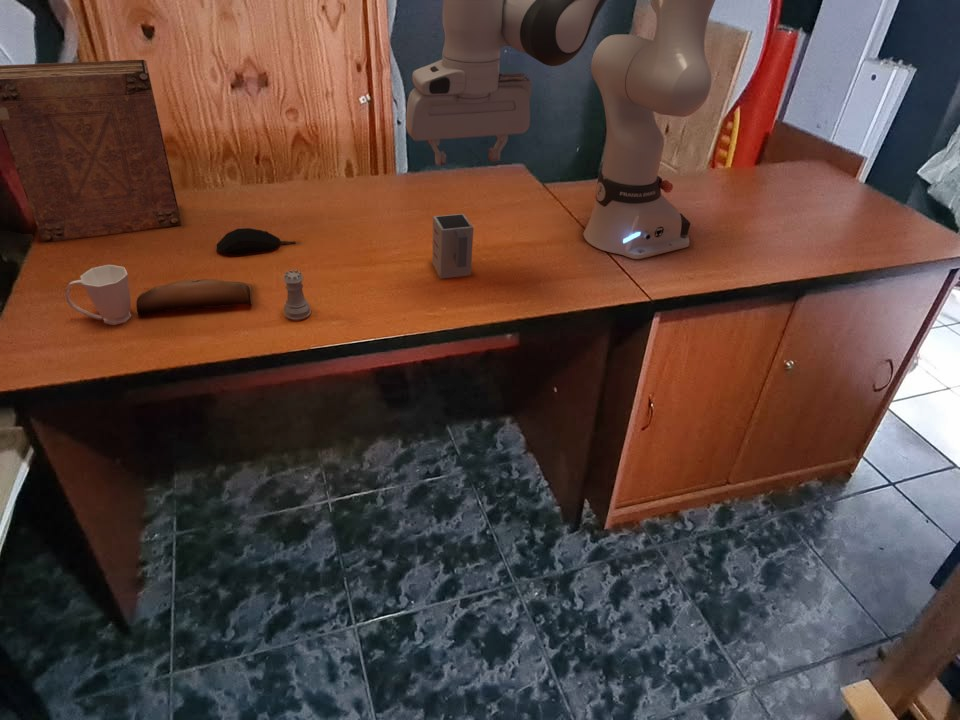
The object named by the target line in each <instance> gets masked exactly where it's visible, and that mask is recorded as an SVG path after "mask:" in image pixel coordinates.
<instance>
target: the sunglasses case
mask: <svg viewBox="0 0 960 720" xmlns="http://www.w3.org/2000/svg"><path fill="white" fill-rule="evenodd" d="M136 298H137V299H136V311H137V312H136V313H137V315H138V316H140V315H148V314H156V313H164V312H167V311H176V310H183V309H184V310H186V309H187V310H188V309H200V308H208V307H210V308H211V307H213V308H214V307H216V308H217V307H225V306H227V307H228V306H238V305H239V306H240V305H241V306H242V305H246V306H247V305H249V306H253V287H252V284H250V283H246V282H242V281H231V280H221V279H213V278H212V279H210V278H209V279H208V278H202V279H187V280H181V281H175V282H170V283H167V284H163V285H158V286H155V287H152V288H149V289H148V290H147V291H144V292H142V293H140V294H139V295H138V297H136Z"/></svg>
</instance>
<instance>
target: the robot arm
mask: <svg viewBox="0 0 960 720" xmlns="http://www.w3.org/2000/svg"><path fill="white" fill-rule="evenodd" d="M606 2H607V0H442V26H443V30H444V44H443V47H442V54H441V56H442V58H441V59H439V60H437V61H435V62H432V63H430V64H428V65H427V64H426V65H425V66H421V67H420V68H417V69H415V70H414V71H413V72H412V82H413V85H414V86H415V87H414V88H413V89H412V90H411V91H410V92H409V95H408V97H407V98H408V99H407V103H406V104H407V106H406V114H405V115H406V116H405V117H406V118H405V127H406V132H407V134H408V135H409V136H410V138H411V139H412V140H413V141H415V142H422V141H428V144H429V145H430V148H431V149H432V151H433V152H434V162H435V165H436V166H444V165H447V161H446V160H447V154H446V153H445V151H444V150H443V151H442V150H441V151H440V150H439V148H438V147H439V146H441V140H448V139H449V140H450V139H465V138H478V137H480V138H481V137H491V136H492V137H493V136H494V137H496V138H497V140H496V142H495V143H494V145H493V146H492V147H489V148H488V159H489V160H490V162H495V161H500V160H501V153H502V151H503V149H504V148H505V146H506V144H507V143H508V141H509V135H519V134H525V133H526V132H527V131H528V130H529V128H530V126H531V124H530V123H531V109H530V108H531V107H530V98H531V95H532V88H533V84H532V80H531V78H530V77H528V76H527V75H525V74H524V73H522V72H516V73H500V64H501V62H500V61H501V50H502V48H503V47H511V48H512V49H514V50H516V51H518V52H521V53H524V54H526V55H528V56H530V57H531V58H533V59H535V60H536V61H538V62H540V63H541V64H542V65H545V66H547V67H548V66H549V67H559V66H561V65H564V64H567V63H568V62H570V61H572V59H574V57H575V56H577V55H578V53H580V52H581V50H582V49H583V47H584V45H585V44H586V42H587V40H588V37H589V35H590V32H591V30H592V28H593V26H594V23H595V21H596V19H597V17H598V15H599V13H600V12H601V10H602V8H603V7H604V5H605V3H606ZM649 2H650V7H651V9H652V10H653V12H654V13H655V16H656V26H655V32H654V36H653V39H648V38H646V37H643V36H639V35H636V34H626V33H625V34H620V33H619V34H611V35H608V36H606V37H604V39H602V40H601V41H600V43H598V45H597V47H596V48H595V50H594V52H593V55H592V58H591V62H590V65H591V66H590V72H591V76H592V78H593V80H594V82H595V84H596V86H597V88H598V89H599V92H600V95H601V99H602V104H603V107H604V108H603V109H604V113H605V114H604V116H605V125H606V136H605V137H606V139H605V147H604V154H603V160H602V168H601V169H600V170H599V173H598V178H597V183H596V189H595V202H594V205H593V208H592V212H591V215H590V217H589V220H588V222H587V225H586V227H585V228H584V230H583V233H582V234H583V235H582V236H583V238H584V240H585V241H586V242H587V243H588V244H590V245H591V246H593V247H594V248H596V249H597V250H601V251H603V252H607V253H611V254H617V255H622V256H624V257H627V258H630V259H632V260H641V259H646V258H649V257H650V258H651V257H654V256H659V255H661V254H666V253H671V252H674V251H678V250H682V249H686V248H688V247H689V246H690V238H689V236H688V234H689V231H690V227H691V221H689V220H688V219H687V218H686V217H685V215H683V214H682V213H681V212H680V211H679V210H678V209H677V208H676V206H675V205H674V204H672V203H671V201H669V200H668V199H667V198H666V197H665V196H664V195H663V194H662V191H663V192H664V193H666V194H669V193H671V192H672V191H673V189H674V185H673V183H671V182H669V180H667V179H664V180H663V178H662V177H661V176H659V170H660V165H661V161H662V156H663V152H664V147H665V138H664V134H663V132H662V131H661V128H659V125H658V124H657V120H656V118H655V113H656V114H658V115H663V116H669V117H678V118H686V117H689V116H691V115H693V114H695V113H696V112H697V111H698V110H699V109H700V108H702V106H703V105H704V103H705V102H706V101H707V98H708V97H709V94H710V91H711V87H712V73H711V69H710V66H709V65H708V62H707V58H706V53H705V40H706V30H707V25H708V21H709V18H710V15H711V12H712V9H713V7H714V5H715V2H716V0H649Z"/></svg>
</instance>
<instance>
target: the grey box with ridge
mask: <svg viewBox="0 0 960 720" xmlns="http://www.w3.org/2000/svg"><path fill="white" fill-rule="evenodd" d="M473 242H474V226H473V225H472V223H471V221H470V220H469V219H468V218H467V216H466V215H465V213H457V214H455V213H453V214H445V215H443V214H442V215H434V216H432V257H431V258H432V263H431V264H432V266H433V267H434V269H435V271H436V273H437V274H438V277H439V278H440V279H441V280H442V279H451V278H459V277H467V276H471V275H472V264H473V263H472V262H473V261H472V260H473V245H474V243H473Z"/></svg>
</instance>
